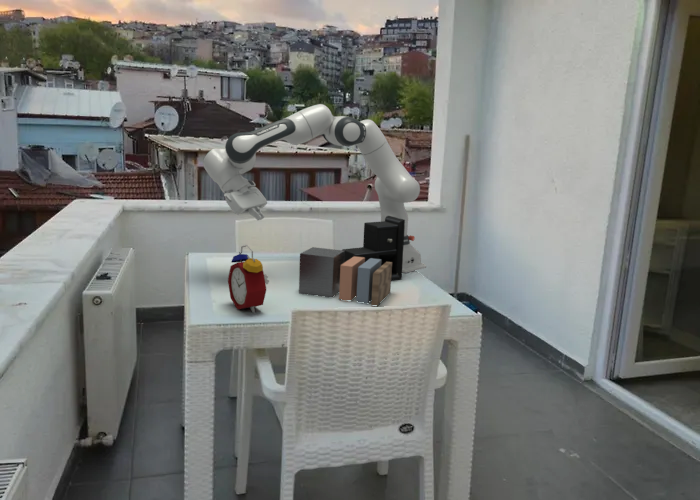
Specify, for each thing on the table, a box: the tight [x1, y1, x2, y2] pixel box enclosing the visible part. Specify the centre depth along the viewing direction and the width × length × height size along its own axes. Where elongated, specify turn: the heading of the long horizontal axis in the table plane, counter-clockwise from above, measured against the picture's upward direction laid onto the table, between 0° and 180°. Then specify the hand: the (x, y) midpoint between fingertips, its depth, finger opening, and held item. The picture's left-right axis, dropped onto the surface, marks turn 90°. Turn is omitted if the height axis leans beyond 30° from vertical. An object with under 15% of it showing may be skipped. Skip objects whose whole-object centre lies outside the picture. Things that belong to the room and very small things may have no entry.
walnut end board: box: [370, 262, 392, 306], centre depth 190 cm, size 18×2×11 cm, turn 162°
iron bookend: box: [298, 246, 345, 298], centre depth 196 cm, size 12×12×14 cm
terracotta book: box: [338, 256, 365, 301], centre depth 193 cm, size 15×4×12 cm, turn 162°
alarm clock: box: [227, 244, 270, 314], centre depth 174 cm, size 15×9×20 cm, turn 35°
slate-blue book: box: [355, 258, 382, 304], centre depth 191 cm, size 15×4×12 cm, turn 162°
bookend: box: [341, 216, 405, 282], centre depth 213 cm, size 23×11×24 cm, turn 122°
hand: (261, 218), depth 199 cm, fingers closed
